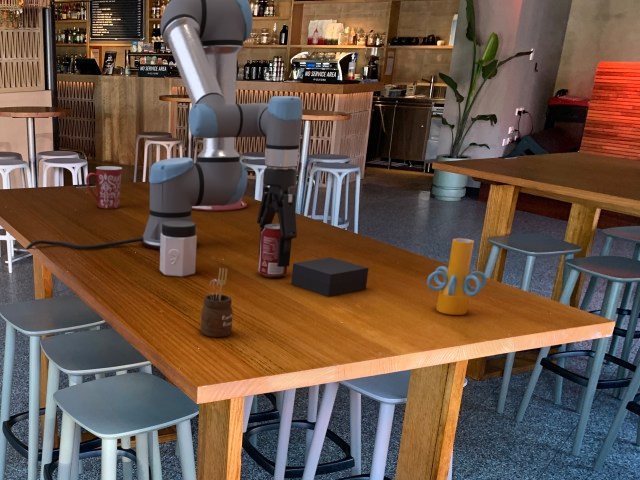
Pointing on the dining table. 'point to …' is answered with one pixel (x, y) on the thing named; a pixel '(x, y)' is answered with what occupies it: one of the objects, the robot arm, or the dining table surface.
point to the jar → (178, 248)
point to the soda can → (270, 252)
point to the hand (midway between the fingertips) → (273, 260)
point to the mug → (107, 186)
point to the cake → (222, 207)
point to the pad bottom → (328, 286)
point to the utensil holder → (217, 312)
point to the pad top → (330, 271)
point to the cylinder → (456, 279)
